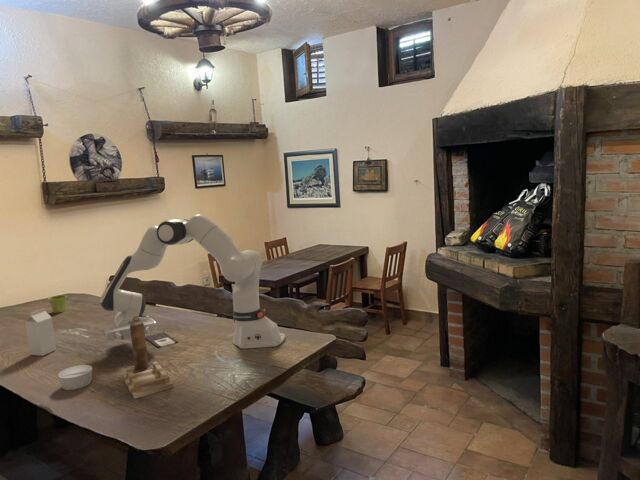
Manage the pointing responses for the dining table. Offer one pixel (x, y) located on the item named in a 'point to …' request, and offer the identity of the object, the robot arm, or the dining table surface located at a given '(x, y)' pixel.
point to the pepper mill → (138, 343)
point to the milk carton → (40, 333)
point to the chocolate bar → (161, 340)
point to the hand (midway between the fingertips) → (134, 334)
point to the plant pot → (58, 303)
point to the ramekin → (75, 377)
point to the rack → (147, 381)
